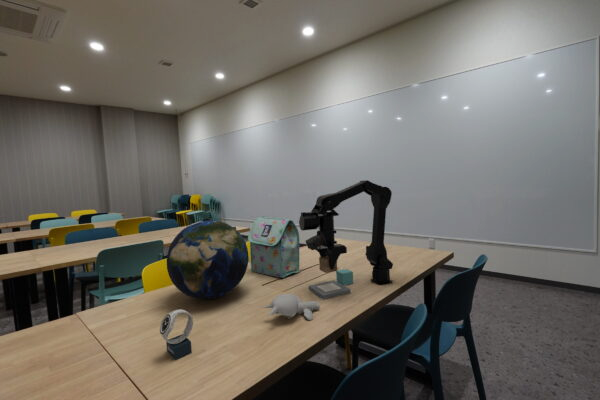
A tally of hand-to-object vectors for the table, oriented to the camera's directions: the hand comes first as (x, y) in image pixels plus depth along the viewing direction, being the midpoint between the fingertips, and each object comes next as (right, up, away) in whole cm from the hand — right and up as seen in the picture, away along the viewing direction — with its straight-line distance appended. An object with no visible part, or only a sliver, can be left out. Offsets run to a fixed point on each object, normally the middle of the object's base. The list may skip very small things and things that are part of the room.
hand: (328, 267), depth 114 cm
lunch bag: (-23, -9, +28) cm, 38 cm away
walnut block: (0, -1, 0) cm, 1 cm away
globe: (-46, -12, +1) cm, 47 cm away
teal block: (+8, -9, +9) cm, 15 cm away
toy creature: (-14, -12, -20) cm, 27 cm away
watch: (-43, -14, -37) cm, 58 cm away
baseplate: (0, -9, +1) cm, 9 cm away
